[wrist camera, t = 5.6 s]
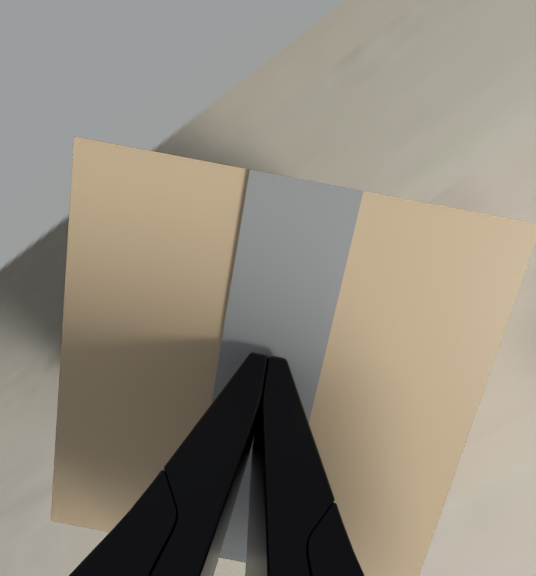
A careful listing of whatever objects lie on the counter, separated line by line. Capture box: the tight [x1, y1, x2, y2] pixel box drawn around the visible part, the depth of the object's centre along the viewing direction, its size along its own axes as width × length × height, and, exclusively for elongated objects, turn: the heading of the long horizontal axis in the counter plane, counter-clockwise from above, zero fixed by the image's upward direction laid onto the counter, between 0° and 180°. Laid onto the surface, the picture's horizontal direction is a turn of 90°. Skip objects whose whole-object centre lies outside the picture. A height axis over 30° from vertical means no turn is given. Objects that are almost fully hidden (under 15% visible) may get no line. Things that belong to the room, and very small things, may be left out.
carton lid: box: [51, 136, 536, 576], centre depth 10 cm, size 10×10×1 cm
